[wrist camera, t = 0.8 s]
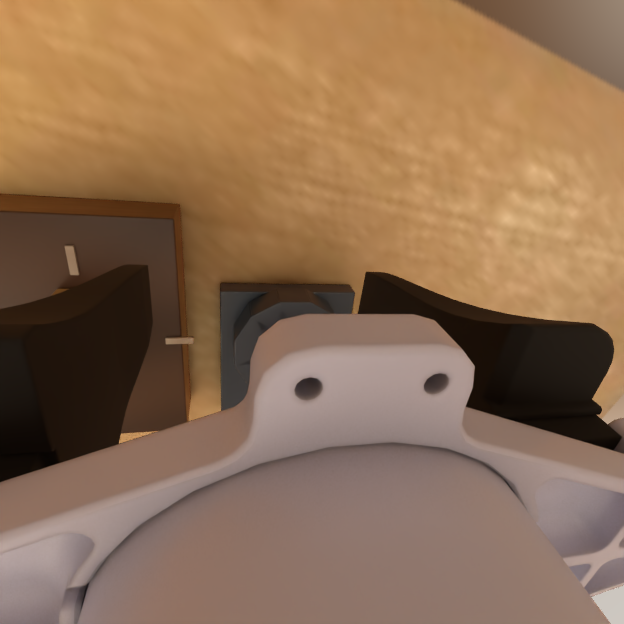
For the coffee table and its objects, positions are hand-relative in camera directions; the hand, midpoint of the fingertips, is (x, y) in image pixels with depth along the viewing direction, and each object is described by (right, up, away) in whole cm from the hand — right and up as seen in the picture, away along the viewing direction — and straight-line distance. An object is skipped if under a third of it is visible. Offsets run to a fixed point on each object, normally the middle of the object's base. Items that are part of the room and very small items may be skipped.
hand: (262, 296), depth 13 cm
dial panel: (-10, -1, +9) cm, 14 cm away
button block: (0, -3, +13) cm, 13 cm away
